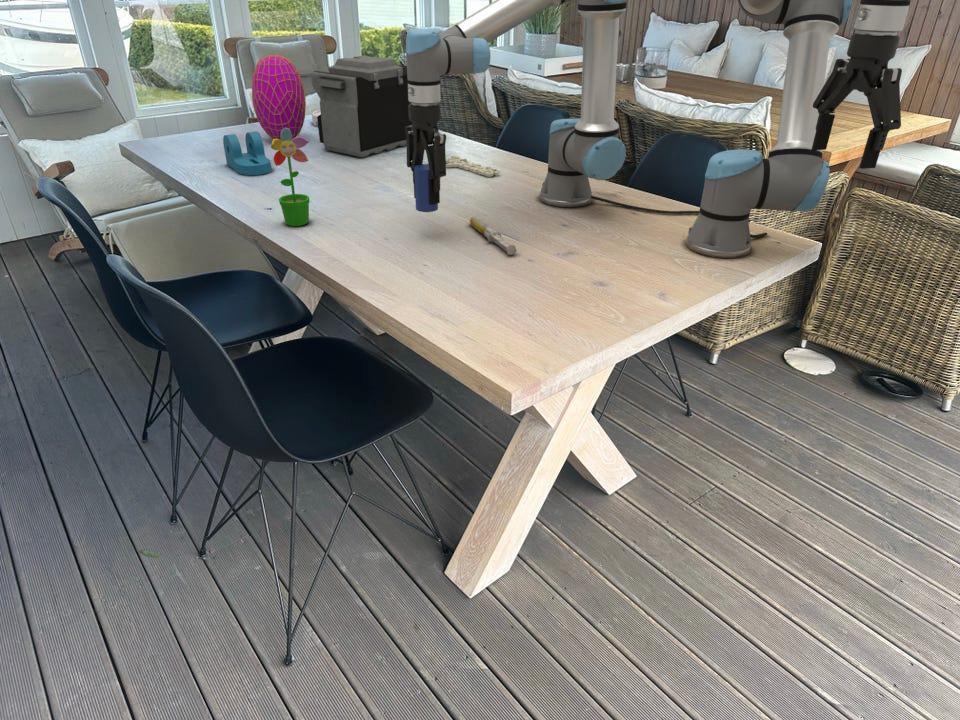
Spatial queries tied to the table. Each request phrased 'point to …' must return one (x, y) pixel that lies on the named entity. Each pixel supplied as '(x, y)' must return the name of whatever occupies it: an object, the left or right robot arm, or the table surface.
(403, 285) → the table surface
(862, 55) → the right robot arm
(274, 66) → the decorative egg
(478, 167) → the decorative sign
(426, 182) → the can
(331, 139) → the cooler box
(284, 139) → the potted flower
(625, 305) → the table surface
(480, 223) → the syringe
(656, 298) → the table surface
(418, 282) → the table surface
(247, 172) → the camera mount
